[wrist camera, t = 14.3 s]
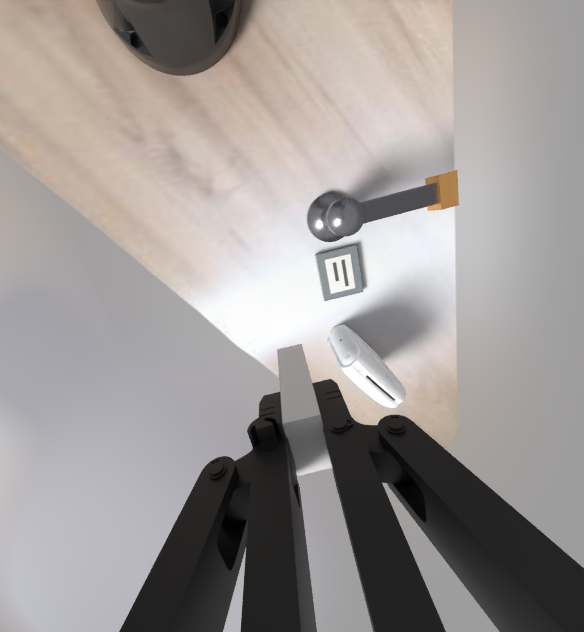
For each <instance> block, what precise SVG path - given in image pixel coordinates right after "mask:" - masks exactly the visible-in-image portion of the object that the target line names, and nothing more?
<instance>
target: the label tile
mask: <svg viewBox="0 0 584 632" xmlns="http://www.w3.org/2000/svg"><path fill="white" fill-rule="evenodd" d="M315 258H316V263H317V268H318V273H319V278H320V283H321V289H322V294H323V299H324V301H327V300H331V299H335V298H340V297H344V296H348V295H352V294H356V293H360V292H363V287H362V280H361V273H360V266H359V259H358V252H357V246H356V245H353V246H349V247H345V248H341V249H336V250H332V251H328V252H324V253H320V254H316V255H315Z"/></svg>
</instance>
